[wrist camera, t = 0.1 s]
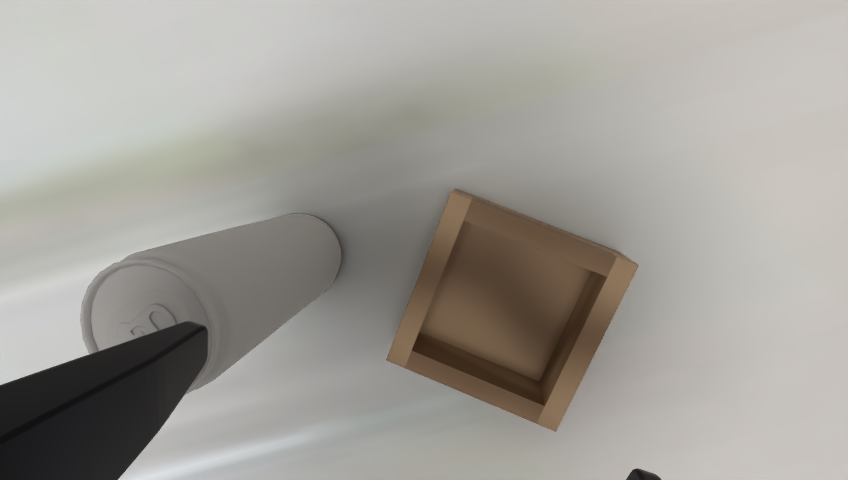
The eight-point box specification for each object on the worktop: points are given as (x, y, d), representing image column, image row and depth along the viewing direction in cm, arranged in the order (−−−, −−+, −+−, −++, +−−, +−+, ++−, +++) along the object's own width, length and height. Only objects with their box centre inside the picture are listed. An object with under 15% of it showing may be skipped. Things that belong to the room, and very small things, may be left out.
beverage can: (247, 244, 26) (47, 313, 14) (308, 193, 25) (147, 222, 13) (299, 310, 26) (146, 432, 14) (362, 262, 25) (251, 351, 13)
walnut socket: (548, 400, 25) (556, 431, 22) (397, 338, 25) (386, 360, 23) (620, 252, 23) (638, 265, 20) (455, 188, 24) (451, 192, 21)
